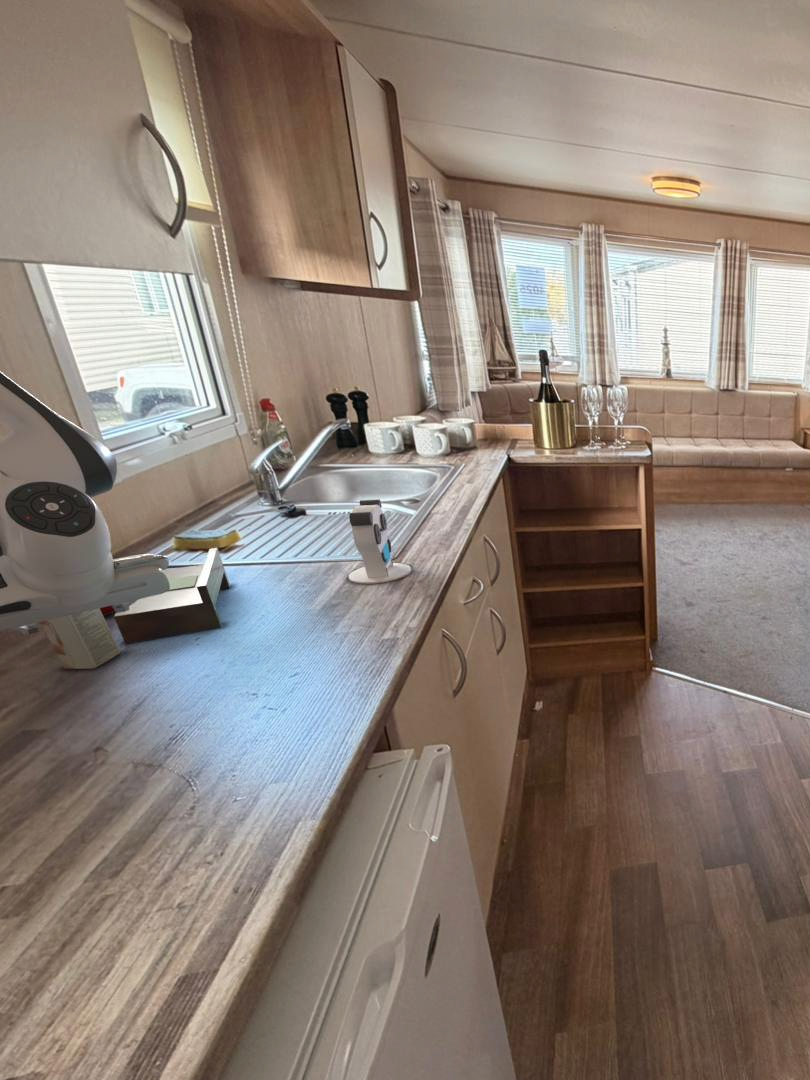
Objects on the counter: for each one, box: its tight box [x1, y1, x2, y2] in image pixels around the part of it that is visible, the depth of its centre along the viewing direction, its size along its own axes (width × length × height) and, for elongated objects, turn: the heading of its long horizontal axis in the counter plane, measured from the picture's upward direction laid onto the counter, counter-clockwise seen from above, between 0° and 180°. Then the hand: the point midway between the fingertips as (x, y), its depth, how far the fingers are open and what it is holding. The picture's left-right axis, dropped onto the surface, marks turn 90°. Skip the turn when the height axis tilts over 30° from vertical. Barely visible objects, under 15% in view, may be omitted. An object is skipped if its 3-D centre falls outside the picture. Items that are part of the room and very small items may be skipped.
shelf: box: [113, 547, 231, 645], centre depth 114 cm, size 12×22×8 cm, turn 36°
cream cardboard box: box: [39, 608, 121, 670], centre depth 97 cm, size 5×4×10 cm
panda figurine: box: [348, 499, 412, 585], centre depth 132 cm, size 12×11×15 cm
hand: (76, 618), depth 94 cm, fingers open, 8 cm apart
